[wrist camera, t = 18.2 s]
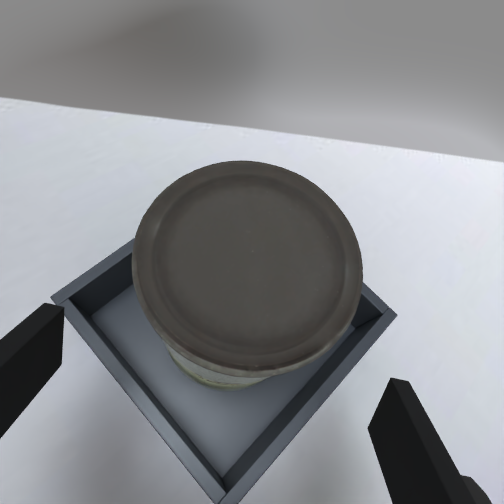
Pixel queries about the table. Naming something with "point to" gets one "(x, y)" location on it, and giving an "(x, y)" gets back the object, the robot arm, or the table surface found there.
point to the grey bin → (199, 397)
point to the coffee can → (246, 272)
